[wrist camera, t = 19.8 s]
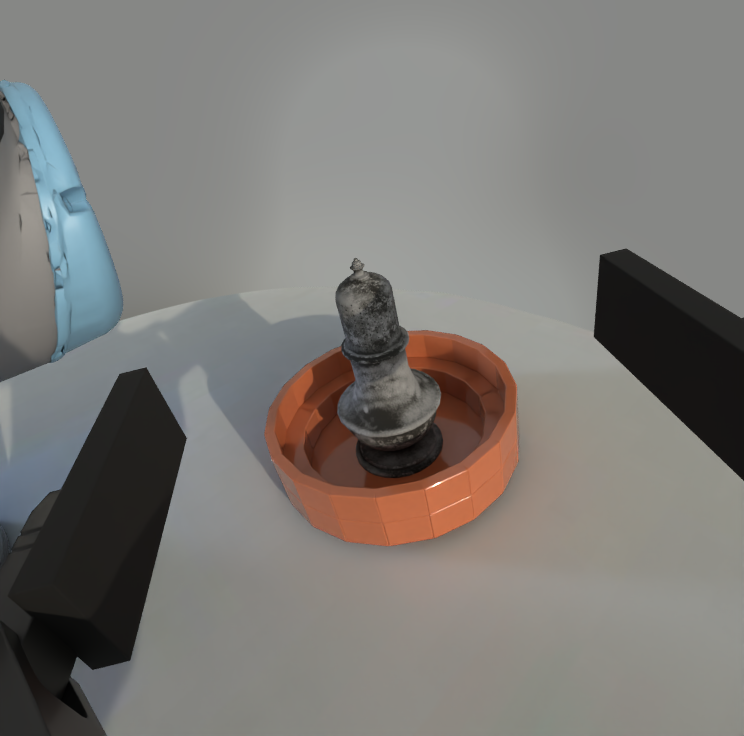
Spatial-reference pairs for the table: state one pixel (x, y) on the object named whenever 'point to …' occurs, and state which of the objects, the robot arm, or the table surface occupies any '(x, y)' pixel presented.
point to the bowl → (411, 493)
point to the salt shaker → (384, 382)
